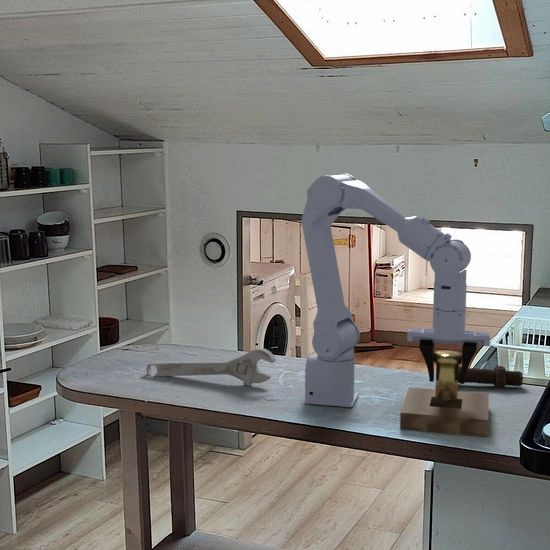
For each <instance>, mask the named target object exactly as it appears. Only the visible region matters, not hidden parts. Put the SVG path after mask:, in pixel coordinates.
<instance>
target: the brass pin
mask: <svg viewBox="0 0 550 550" xmlns="http://www.w3.org/2000/svg"><path fill="white" fill-rule="evenodd" d="M434 364H435V388H434V389H435V397H436V398H438V399H441V400H455V399H457V395H458V391H459V390H458V389H459V388H458V387H459V386H458V385H459V383H458V372H459V367H460V365H462V353H460V352H458V351H456V350H455V351H454V350H438V351H434Z"/></svg>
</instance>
